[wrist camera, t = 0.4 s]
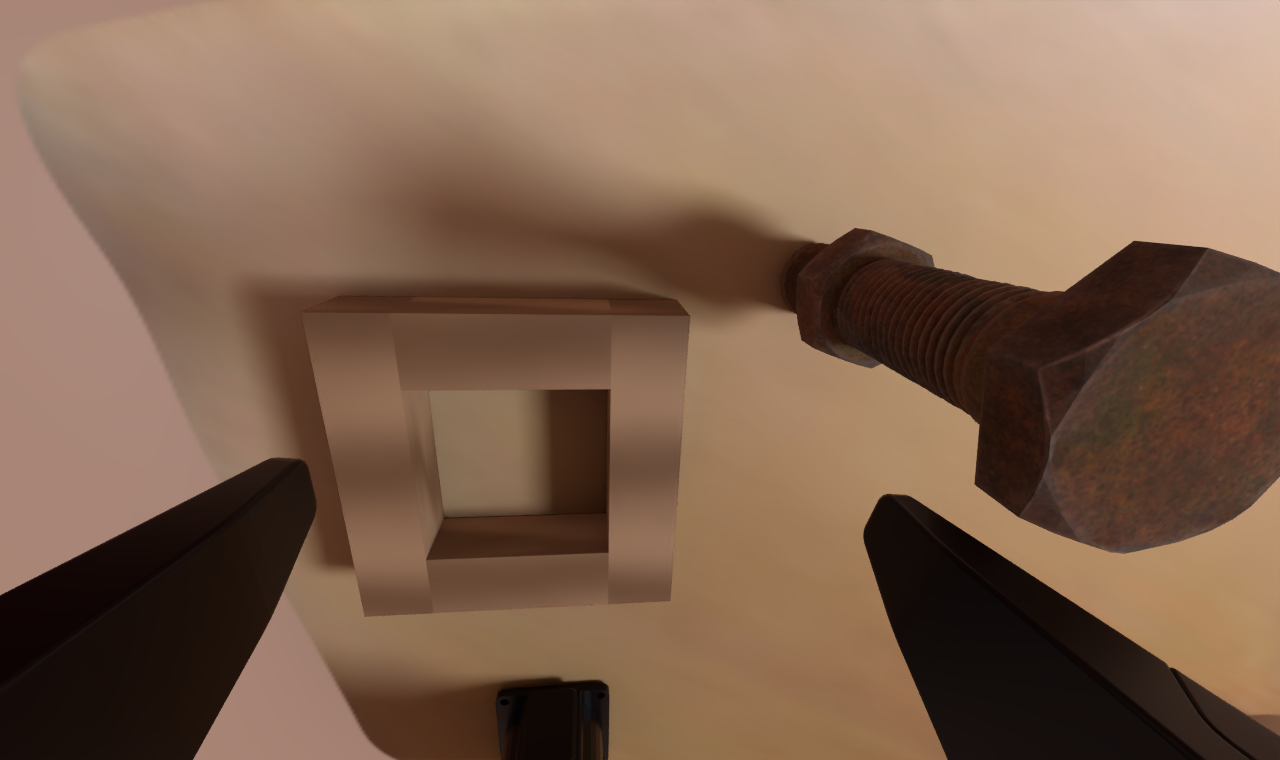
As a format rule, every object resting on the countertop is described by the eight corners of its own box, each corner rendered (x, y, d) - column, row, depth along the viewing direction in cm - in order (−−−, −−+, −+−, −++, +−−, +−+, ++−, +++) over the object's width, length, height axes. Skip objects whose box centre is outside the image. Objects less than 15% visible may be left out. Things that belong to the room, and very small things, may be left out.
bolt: (730, 311, 22) (970, 512, 8) (777, 198, 21) (1170, 213, 7) (840, 350, 23) (1212, 583, 10) (893, 246, 22) (1427, 342, 8)
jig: (661, 558, 27) (670, 600, 24) (389, 569, 25) (364, 616, 22) (676, 300, 22) (690, 315, 19) (340, 296, 20) (300, 312, 18)
